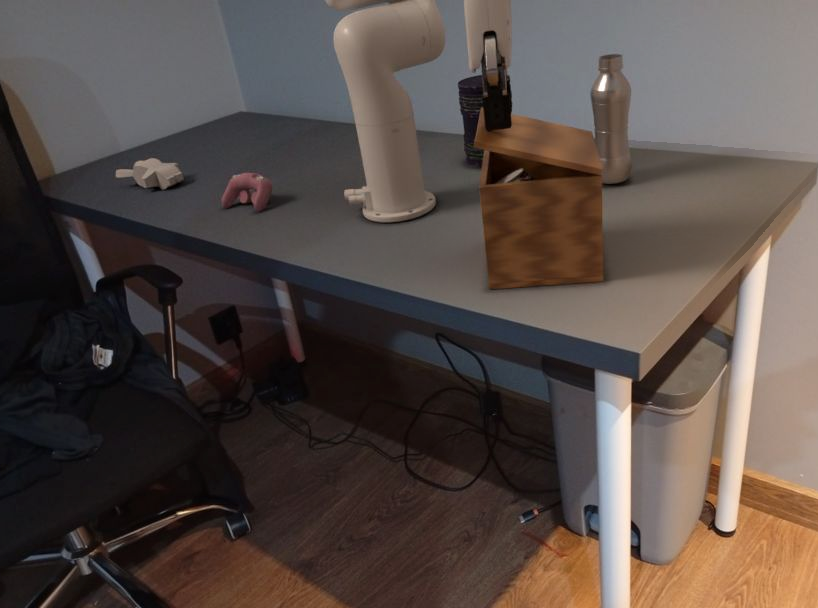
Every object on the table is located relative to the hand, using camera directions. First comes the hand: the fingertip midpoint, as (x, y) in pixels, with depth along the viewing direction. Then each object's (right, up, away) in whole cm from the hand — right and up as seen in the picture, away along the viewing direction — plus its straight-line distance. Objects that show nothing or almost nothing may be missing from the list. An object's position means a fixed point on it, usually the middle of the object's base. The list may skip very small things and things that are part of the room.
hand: (499, 120), depth 92 cm
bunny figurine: (-68, +7, +67) cm, 96 cm away
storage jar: (+3, +8, +50) cm, 51 cm away
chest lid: (+5, -2, +1) cm, 5 cm away
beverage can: (+7, -16, +7) cm, 19 cm away
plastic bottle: (+22, -1, +32) cm, 39 cm away
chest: (+7, -16, +10) cm, 20 cm away
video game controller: (-43, -2, +46) cm, 63 cm away
